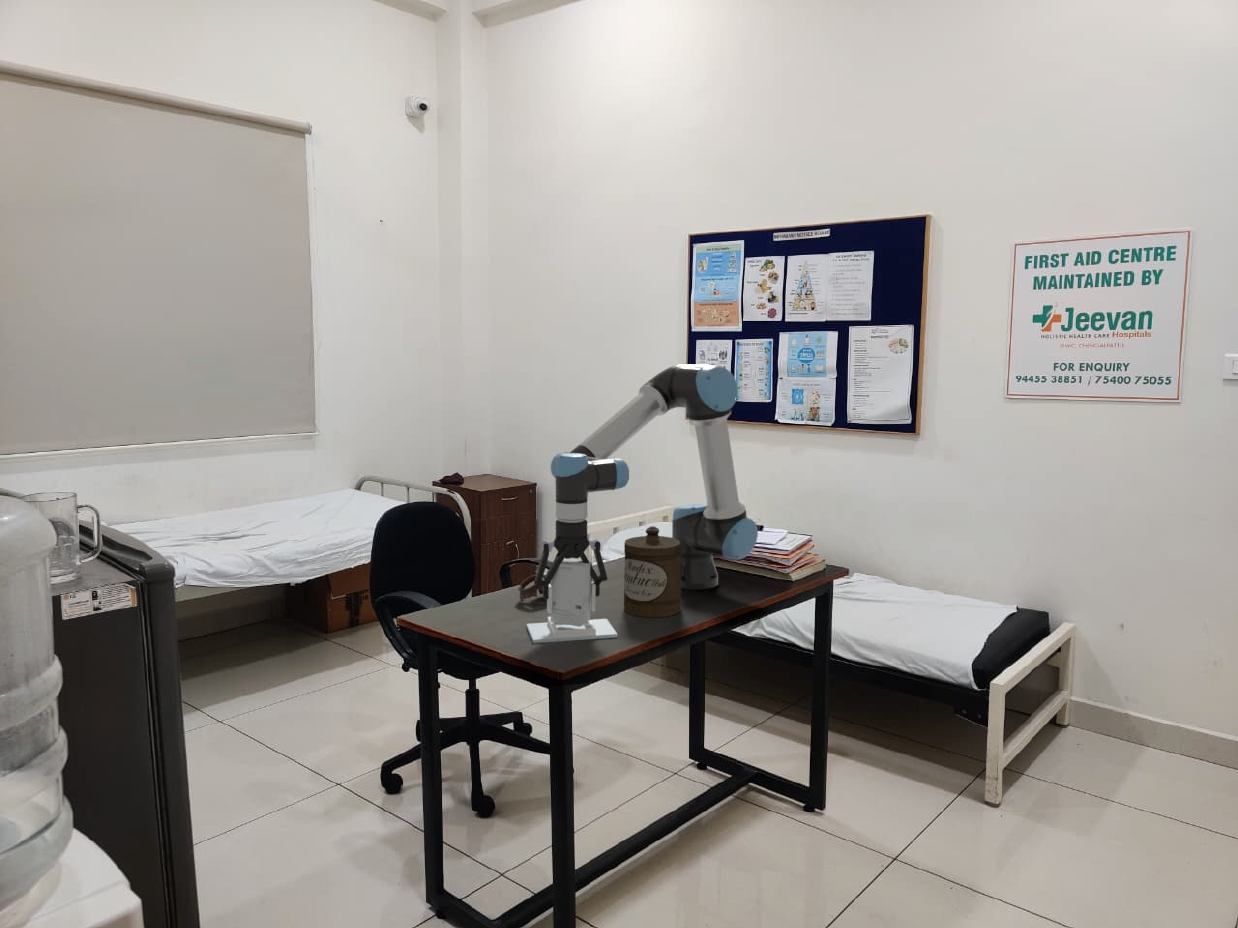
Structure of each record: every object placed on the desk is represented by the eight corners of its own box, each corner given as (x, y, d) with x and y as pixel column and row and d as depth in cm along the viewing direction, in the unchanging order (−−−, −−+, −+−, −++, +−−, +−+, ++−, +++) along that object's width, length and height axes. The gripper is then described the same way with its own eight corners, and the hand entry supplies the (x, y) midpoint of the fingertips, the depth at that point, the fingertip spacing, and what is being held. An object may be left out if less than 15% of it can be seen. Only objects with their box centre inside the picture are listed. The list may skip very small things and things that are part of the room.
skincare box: (550, 623, 212) (550, 562, 210) (561, 616, 217) (561, 556, 215) (582, 627, 209) (582, 565, 207) (592, 620, 214) (592, 560, 212)
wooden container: (612, 611, 231) (613, 528, 228) (644, 597, 243) (645, 518, 240) (660, 621, 222) (662, 535, 219) (690, 607, 234) (692, 525, 231)
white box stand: (606, 621, 221) (606, 612, 221) (617, 637, 210) (617, 627, 210) (526, 626, 217) (526, 617, 217) (533, 643, 205) (533, 633, 205)
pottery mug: (558, 607, 235) (543, 583, 232) (527, 621, 236) (512, 597, 234) (562, 584, 246) (548, 561, 243) (532, 597, 248) (518, 574, 245)
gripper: (614, 514, 216) (613, 603, 219) (522, 517, 211) (522, 608, 214) (621, 520, 209) (620, 612, 212) (526, 524, 204) (526, 618, 206)
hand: (571, 610), depth 213 cm, fingers closed on skincare box, 10 cm apart
